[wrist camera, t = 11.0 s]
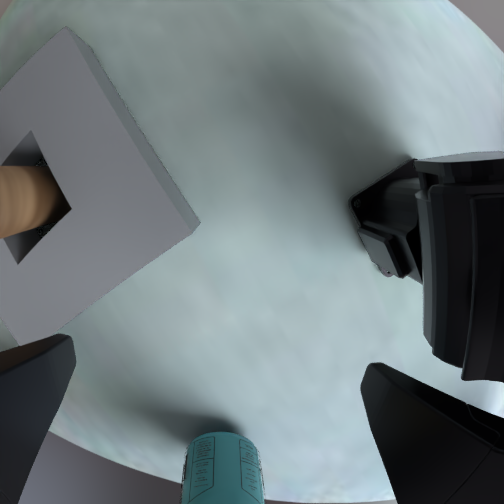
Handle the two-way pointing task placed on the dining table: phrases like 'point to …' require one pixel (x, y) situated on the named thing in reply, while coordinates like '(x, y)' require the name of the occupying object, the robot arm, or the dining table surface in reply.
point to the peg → (29, 199)
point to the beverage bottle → (222, 471)
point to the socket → (80, 190)
